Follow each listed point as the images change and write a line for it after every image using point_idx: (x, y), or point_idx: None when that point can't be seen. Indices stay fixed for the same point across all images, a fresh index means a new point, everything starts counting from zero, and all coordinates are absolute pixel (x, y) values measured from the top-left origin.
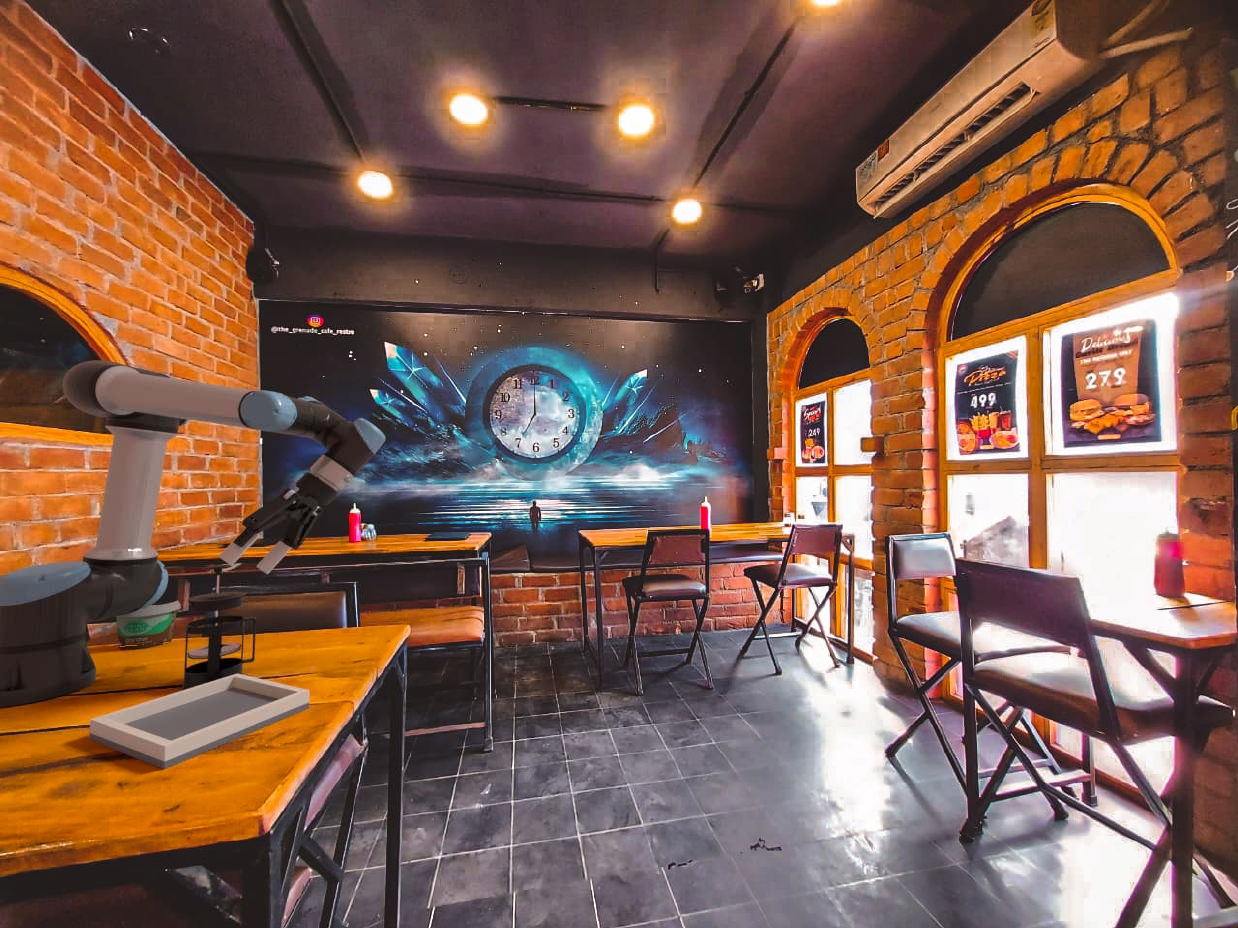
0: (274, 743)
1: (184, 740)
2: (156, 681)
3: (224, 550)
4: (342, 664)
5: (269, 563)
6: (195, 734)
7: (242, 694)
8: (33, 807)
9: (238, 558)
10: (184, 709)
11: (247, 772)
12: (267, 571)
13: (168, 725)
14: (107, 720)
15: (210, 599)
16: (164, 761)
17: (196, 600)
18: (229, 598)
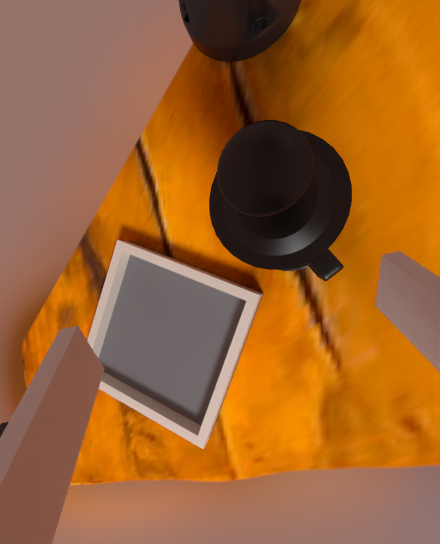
0: (134, 441)
1: None
2: None
3: (46, 357)
4: (390, 402)
5: (406, 315)
6: None
7: (226, 331)
8: (48, 314)
9: (94, 397)
10: (180, 292)
11: (92, 445)
12: (380, 310)
13: (144, 310)
14: (116, 262)
15: (229, 223)
16: None
17: (219, 192)
18: (249, 263)
